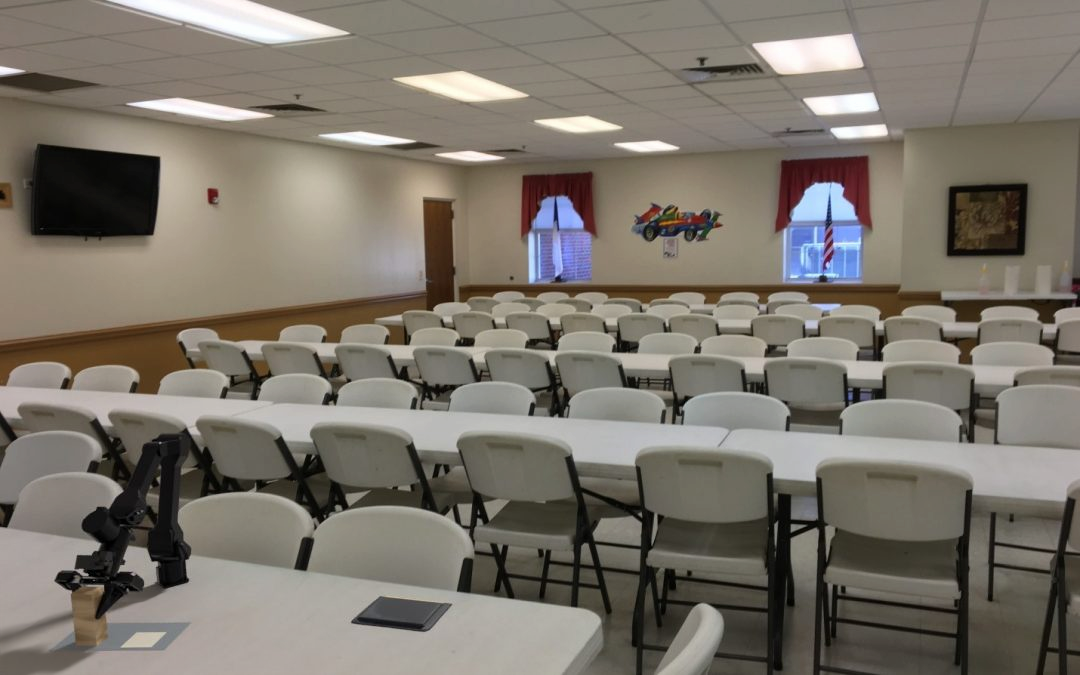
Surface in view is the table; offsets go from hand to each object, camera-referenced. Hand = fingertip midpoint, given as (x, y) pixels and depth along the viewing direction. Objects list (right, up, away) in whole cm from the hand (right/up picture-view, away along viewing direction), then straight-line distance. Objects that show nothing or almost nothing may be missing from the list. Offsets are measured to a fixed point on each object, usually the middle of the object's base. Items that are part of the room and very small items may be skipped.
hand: (85, 618), depth 185 cm
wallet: (+68, -4, +13) cm, 70 cm away
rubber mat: (+6, -6, +4) cm, 10 cm away
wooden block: (0, -6, +2) cm, 6 cm away
